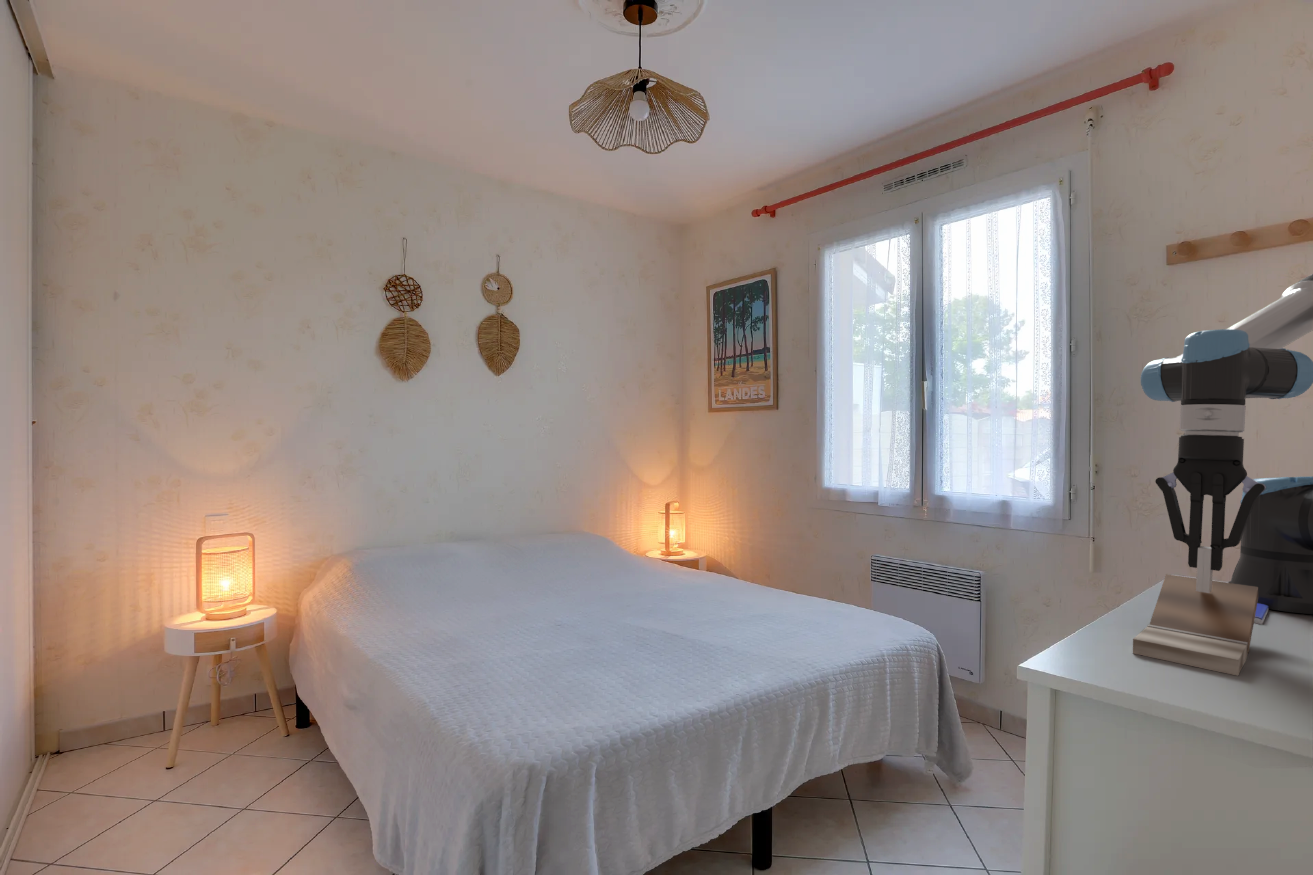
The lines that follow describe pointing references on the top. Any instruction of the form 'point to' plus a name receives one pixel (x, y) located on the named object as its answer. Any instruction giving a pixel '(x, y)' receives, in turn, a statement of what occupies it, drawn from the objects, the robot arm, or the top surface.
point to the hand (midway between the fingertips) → (1203, 590)
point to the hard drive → (1260, 613)
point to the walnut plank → (1207, 608)
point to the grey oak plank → (1191, 649)
